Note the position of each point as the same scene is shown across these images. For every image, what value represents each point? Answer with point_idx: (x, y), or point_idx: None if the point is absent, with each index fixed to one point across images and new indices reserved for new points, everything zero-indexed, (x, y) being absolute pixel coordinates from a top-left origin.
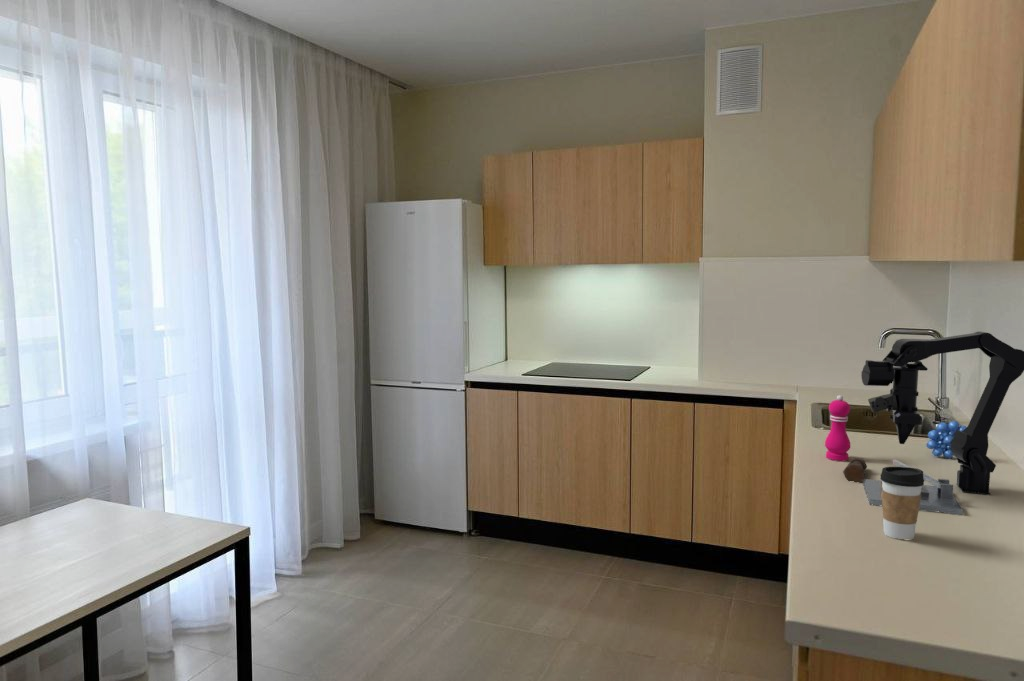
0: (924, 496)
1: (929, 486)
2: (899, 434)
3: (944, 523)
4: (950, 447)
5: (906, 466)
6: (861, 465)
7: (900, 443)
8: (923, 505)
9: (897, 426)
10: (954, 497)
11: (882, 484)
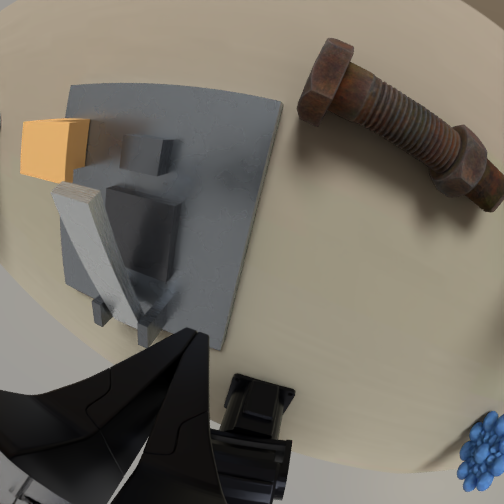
0: None
1: (217, 310)
2: (123, 364)
3: (31, 218)
4: (476, 444)
5: (77, 235)
6: (327, 101)
7: (184, 330)
8: None
9: (53, 396)
10: None
11: (57, 120)
